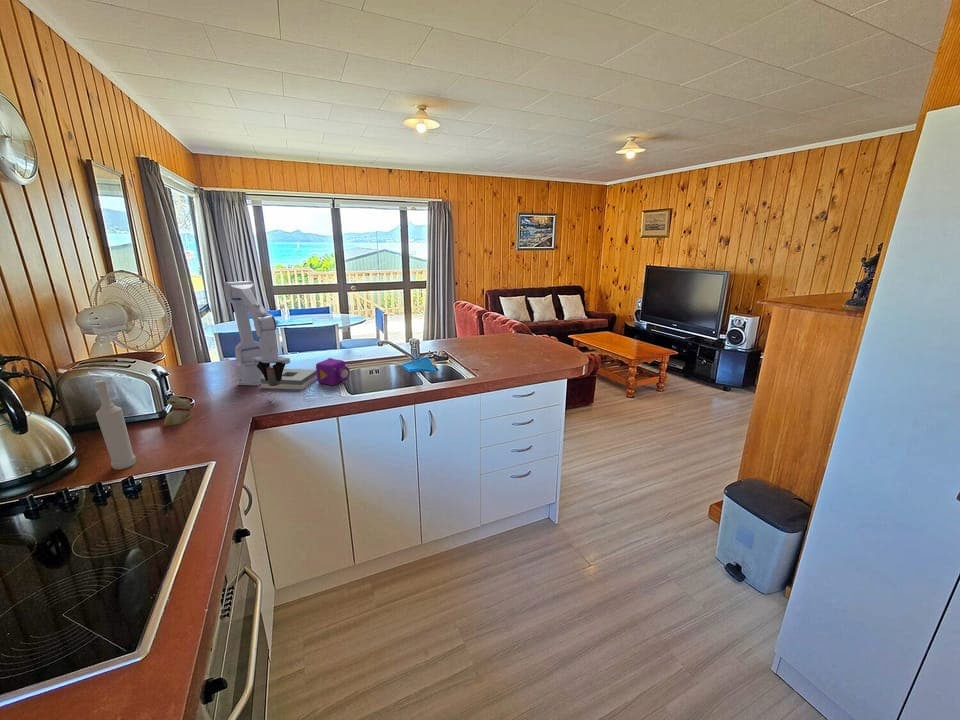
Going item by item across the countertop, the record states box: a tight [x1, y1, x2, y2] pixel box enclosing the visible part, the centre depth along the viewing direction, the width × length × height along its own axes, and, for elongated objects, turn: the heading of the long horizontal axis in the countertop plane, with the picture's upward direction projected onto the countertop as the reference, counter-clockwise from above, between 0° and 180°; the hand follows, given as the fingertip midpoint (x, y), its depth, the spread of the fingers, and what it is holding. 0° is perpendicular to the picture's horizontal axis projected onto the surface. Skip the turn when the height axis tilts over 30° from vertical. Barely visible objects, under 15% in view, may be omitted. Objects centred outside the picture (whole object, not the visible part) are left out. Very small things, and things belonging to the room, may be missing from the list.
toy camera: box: [315, 357, 351, 386], centre depth 174 cm, size 11×14×10 cm
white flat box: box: [260, 368, 318, 390], centre depth 173 cm, size 18×14×4 cm
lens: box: [266, 365, 280, 386], centre depth 156 cm, size 4×4×7 cm
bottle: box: [94, 379, 137, 470], centre depth 107 cm, size 5×5×25 cm
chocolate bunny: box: [163, 394, 192, 427], centre depth 136 cm, size 6×8×10 cm
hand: (273, 380), depth 156 cm, fingers closed on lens, 4 cm apart
